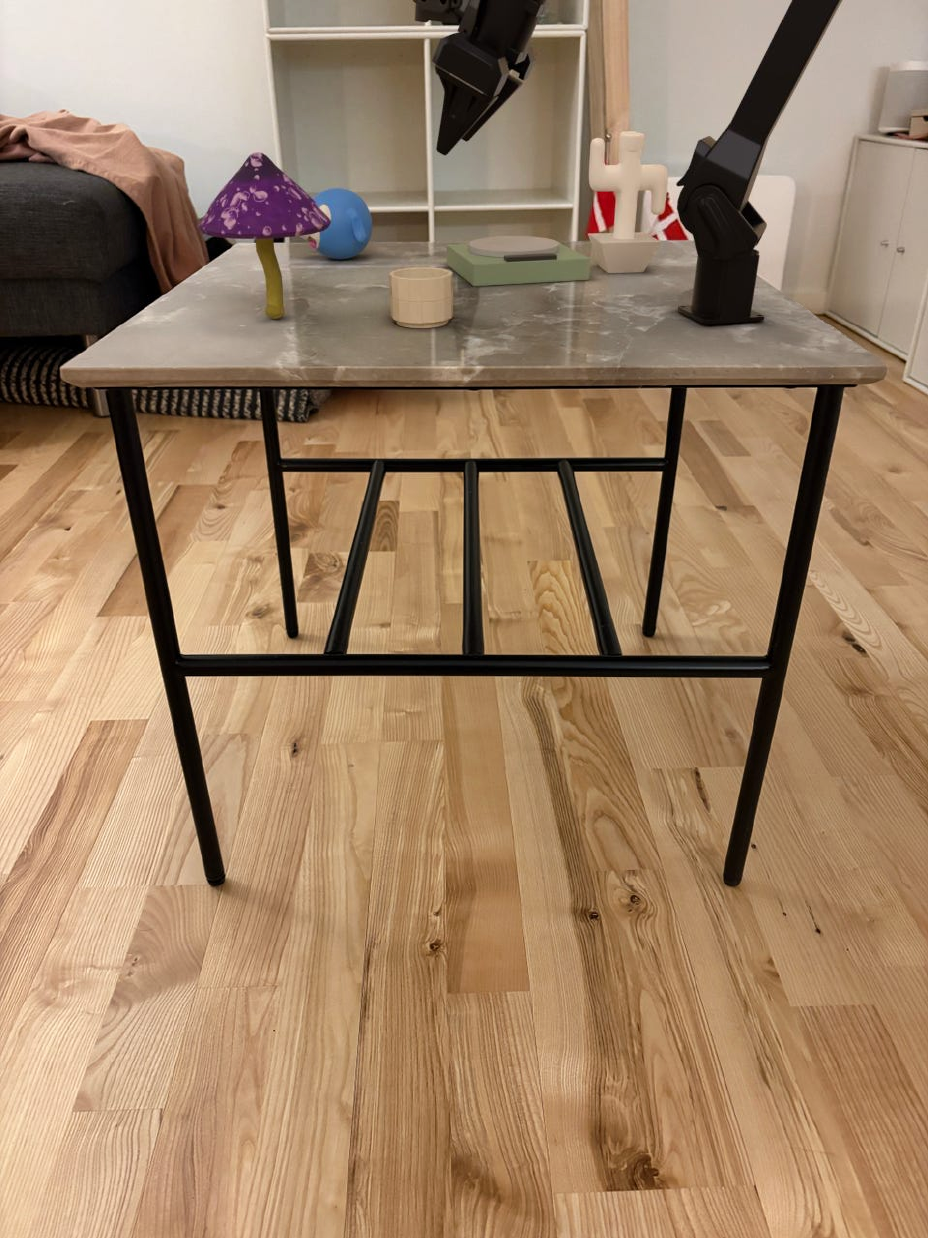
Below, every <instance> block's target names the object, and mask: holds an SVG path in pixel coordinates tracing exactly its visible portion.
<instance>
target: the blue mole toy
mask: <svg viewBox="0 0 928 1238" xmlns="http://www.w3.org/2000/svg"><path fill="white" fill-rule="evenodd" d="M312 199H313V200H314V201H315V202H316V204H317V205H318V206H319V208H320V209H321V210H322V211H323V212H324V213H325V214H326V216H327V217H328V218H329V219H330V220H331V223H330V225H329V227H328V228H327V229H325V230H324V231H322V232H318V233H314V234H309V235H303V236H298V237H299V238H301V239H302V240H303V241H308V243H309V247H311V248H312V249H314V250H316V252H318V253H319V254H321V255H322V256H323V257H326V258H329V259H332V260H348V259H351V258H354V257H356V256H358V255H359V254H361V253H362V252H363V251H364V250H365V249H366V247H367V246H368V244H369V243H370V241H371V237H372V233H373V218H372V214H371V211H370V209H369V207H368V205H367V203H366V201H364V199H363V198H362V197H361V196H360V195H359V194H357V193H356V192H354V191H352V190H350V189H347V188H341V187H340V188H339V187H335V188H328V189H324V190H322V191H320V192H318V193H317V194H316V195H315V196H313V198H312Z"/></svg>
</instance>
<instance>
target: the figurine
mask: <svg viewBox="0 0 928 1238" xmlns="http://www.w3.org/2000/svg"><path fill="white" fill-rule="evenodd" d="M644 143H645V134H644V133H642V132H638V131H636V130H632V131H629V130H628V131H627V130H626V131H625V130H624V131H621V133H620V134H619V137H618V148H617V149H618V154H617V158H618V162H617V164H606V162H605V155H606V154H605V153H606V144H605V140H604V139H603V138H601V137H595V138H593V139H592V140H591V141H590V145H589V161H588V184H589V187H590V189H591V190H592V191H594V192H615V207H614V221H613V231H612V232H602V233H601V232H599V233H587V236H588V238H589V242H590V245H591V247H592V249H593V252H594V254H595V258H596V260H597V263H598V265H599V267H600V268H601V269H602V270H603V271H604V272H606V273H607V274H629V273H630V274H632V273H635V274H636V273H644V272H645V270H646V268H647V267H648V265H649V263H650V261H651V260H652V258H653V257H654V255H655V253H656V252H657V250H658V249H659V246H660V245H661V243H662V241H661V240H659V239H657V238H655V237H653V236H652V235H650V234H648V233H646V232H644V231H643V232H641V231H640V232H636V223H637V221H636V219H637V209H638V199H639V198H638V197H639V191H641V192H643V191H650V197H651V198H650V212H651V214H653V215H656V216H660V215H663V214H664V213H665V210H666V203H667V195H668V194H667V193H668V181H669V173H668V169H667V167H666V166H665V165H664V164H660V163H659V164H658V163H657V164H655V163H653V164H641V163H642V162H641V160H642V152H643V150H644V146H645V145H644Z"/></svg>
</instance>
